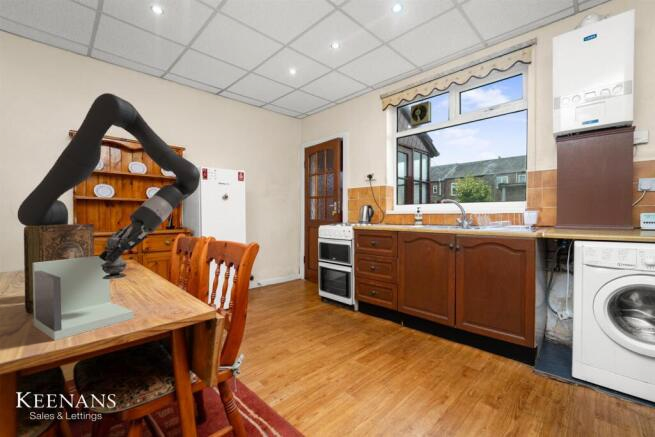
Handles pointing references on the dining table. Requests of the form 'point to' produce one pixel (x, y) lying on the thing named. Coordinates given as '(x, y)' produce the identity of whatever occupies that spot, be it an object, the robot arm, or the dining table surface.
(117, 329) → the dining table surface
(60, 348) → the dining table surface
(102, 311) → the shelf
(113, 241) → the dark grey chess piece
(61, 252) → the book
